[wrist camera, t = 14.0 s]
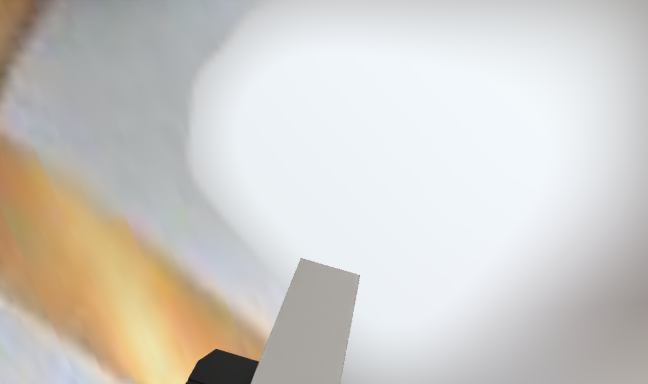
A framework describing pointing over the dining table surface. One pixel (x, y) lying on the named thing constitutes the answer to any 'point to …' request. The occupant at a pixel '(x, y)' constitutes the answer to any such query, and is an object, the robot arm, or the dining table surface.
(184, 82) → the dining table surface
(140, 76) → the dining table surface
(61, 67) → the dining table surface
